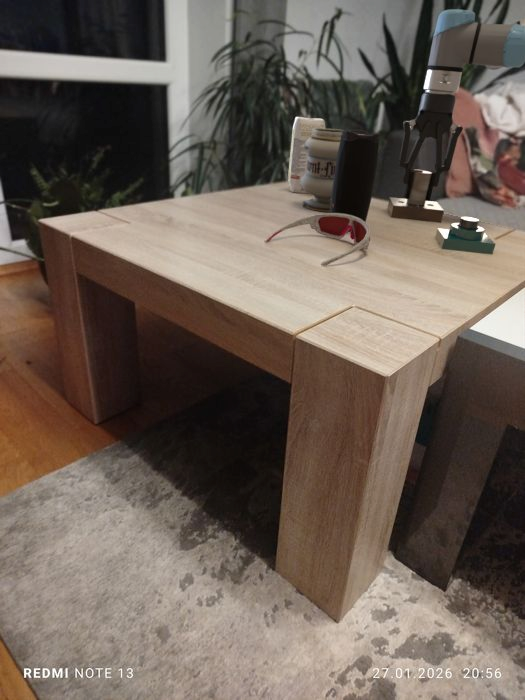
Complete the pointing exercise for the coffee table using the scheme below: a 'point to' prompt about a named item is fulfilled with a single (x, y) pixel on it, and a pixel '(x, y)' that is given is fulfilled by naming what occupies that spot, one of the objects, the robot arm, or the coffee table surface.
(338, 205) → the portable speaker
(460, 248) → the green stepped pedestal
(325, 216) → the sunglasses
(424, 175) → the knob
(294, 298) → the coffee table surface
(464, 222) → the grey short cylinder
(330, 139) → the apothecary jar
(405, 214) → the brown block with holes
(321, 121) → the white carton
